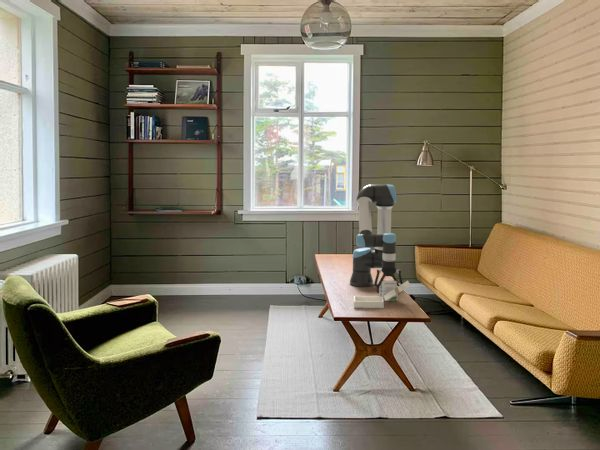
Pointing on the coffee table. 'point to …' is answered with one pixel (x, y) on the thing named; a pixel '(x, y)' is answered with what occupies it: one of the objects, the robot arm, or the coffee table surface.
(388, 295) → the lid
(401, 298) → the coffee table surface
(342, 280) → the coffee table surface
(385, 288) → the ink box
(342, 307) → the coffee table surface
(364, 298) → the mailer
